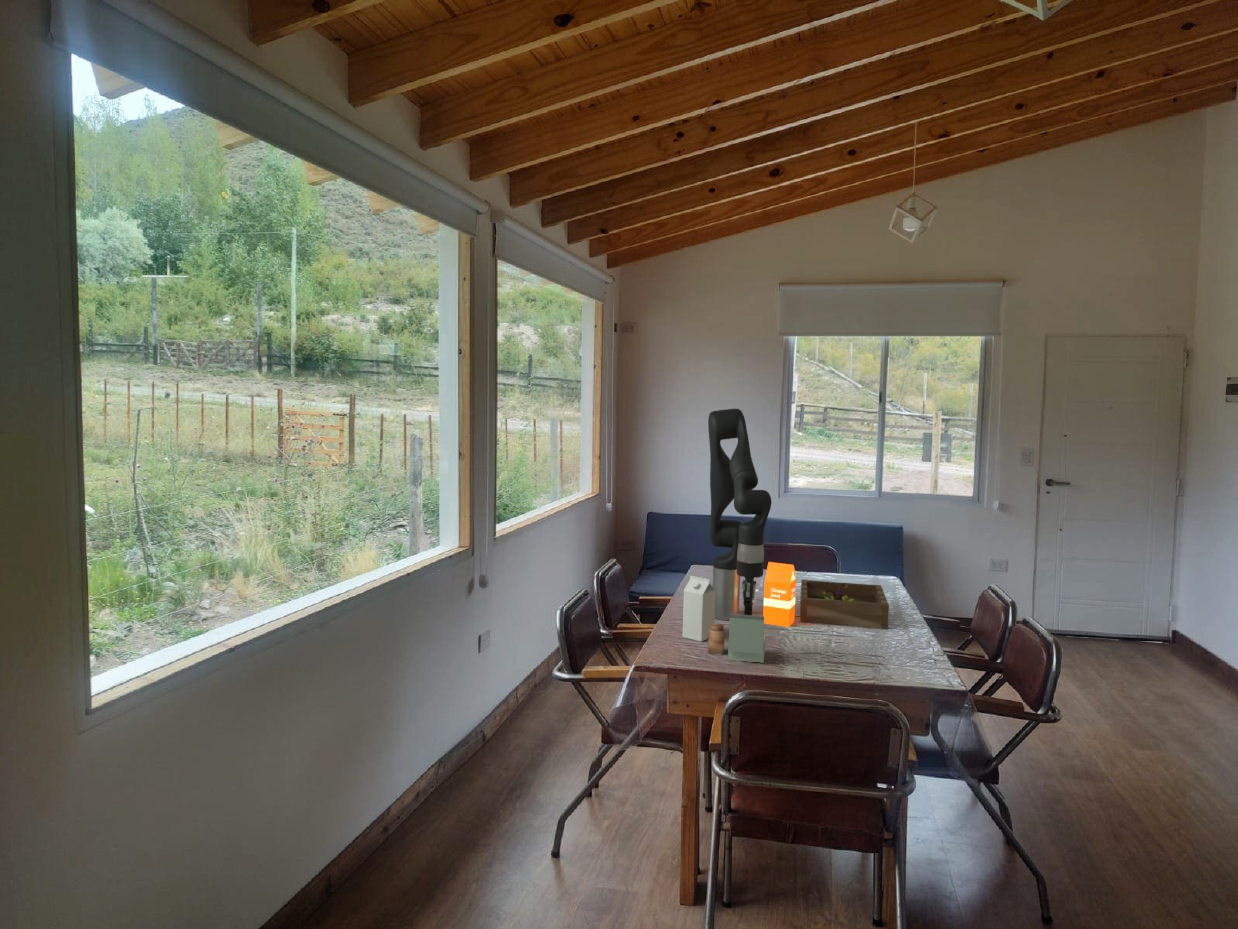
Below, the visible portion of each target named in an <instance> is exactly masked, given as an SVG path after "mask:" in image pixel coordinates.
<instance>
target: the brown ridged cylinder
mask: <svg viewBox="0 0 1238 929" xmlns="http://www.w3.org/2000/svg"><path fill="white" fill-rule="evenodd" d="M725 634H726V629H725V628H724V625H723V624H722V623H714V624H711V628H709V639H708V649H707V650H708V651H707V652H709V653H708V654H710V653H711V654H710V655H712V654H722V655H725V638H726V637H725Z"/></svg>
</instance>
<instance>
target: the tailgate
mask: <svg viewBox="0 0 1238 929" xmlns="http://www.w3.org/2000/svg"><path fill="white" fill-rule="evenodd" d="M728 626H729V630H728V631H729V632H728V633H729V635H728V636H729V637H728V644H729V651H734V652H744V653H755V654H763V641H764V633H765V623H764V616H763V615H753V614H752V615H744V614H740V613H739V614H730V620H729V625H728Z"/></svg>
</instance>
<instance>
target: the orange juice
mask: <svg viewBox="0 0 1238 929" xmlns="http://www.w3.org/2000/svg"><path fill="white" fill-rule="evenodd" d="M796 577H797V576H796V571H795V566H794V564H788V563H780V562H774V561H773V562H772V561H768V564H767V567H766V572H765V577H764V585H763V586H764V588H763V589H764V591H763V611H762V616H764V624H767V625H774V626H779V627H785V628H786V627H787V628H789V627H790V626H792V625H793V623H794V622H795V613H796V612H795V611H796V609H795V608H796V593H797V592H796V591H797V587H796V586H797V578H796Z"/></svg>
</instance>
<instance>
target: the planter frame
mask: <svg viewBox="0 0 1238 929" xmlns="http://www.w3.org/2000/svg"><path fill="white" fill-rule="evenodd" d="M841 584H847V585H848V587H847V588H844V587H843V586H842V588H841V594H842V593H845V594H847V596H848V599H845V601H842V600H829V599H826V598H825V597H828V598H830V599H831V597H830V596H833V594H832V592H831V591H827V594H826V595H823V592H824V591H826V590H829V589H830V590H833V591H834V592H835V593H836V594H838V589H839V588H840V586H841ZM842 597H844V595H843V596H842ZM849 599H854V600H853V601H847V600H849ZM799 605H800V608H799V610H800V616H799V623H806V624H807V623H808V624H818V625H829V626H830V625H831V626H841V627H853V628H863V629H875V630H877V629H878V630H886V631H887V630H889V629H888V628H889V615H890V614H889V611H890V605H889V602H888V600H887V597H886V594H885V592H884V588H883V587H882V585H881V584H869V583H868V584H866V583H855V582H854V583H852V582H839V581H826V580H811V579H801V581H800V604H799Z"/></svg>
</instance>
